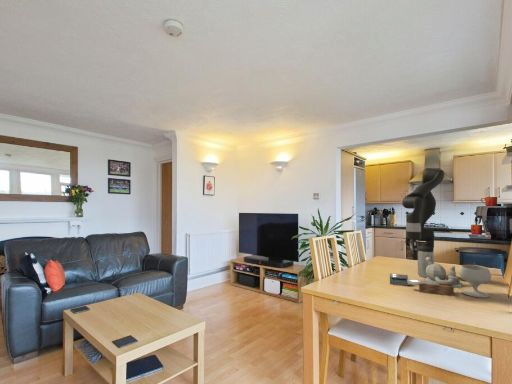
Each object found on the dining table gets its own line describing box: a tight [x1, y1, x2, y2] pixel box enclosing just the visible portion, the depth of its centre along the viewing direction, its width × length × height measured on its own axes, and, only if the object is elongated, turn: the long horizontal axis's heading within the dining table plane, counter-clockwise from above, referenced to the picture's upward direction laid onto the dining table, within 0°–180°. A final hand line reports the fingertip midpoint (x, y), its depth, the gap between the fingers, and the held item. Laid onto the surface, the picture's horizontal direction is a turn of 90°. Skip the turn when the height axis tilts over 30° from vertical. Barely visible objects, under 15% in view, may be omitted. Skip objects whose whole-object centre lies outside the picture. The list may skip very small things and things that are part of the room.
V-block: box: [389, 273, 409, 287], centre depth 174 cm, size 10×10×5 cm
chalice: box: [458, 264, 492, 298], centre depth 152 cm, size 14×14×15 cm
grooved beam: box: [418, 283, 455, 297], centre depth 156 cm, size 16×7×5 cm, turn 62°
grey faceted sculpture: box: [423, 257, 464, 289], centre depth 173 cm, size 20×15×15 cm
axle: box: [407, 278, 440, 286], centre depth 158 cm, size 16×3×3 cm, turn 62°
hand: (414, 258), depth 161 cm, fingers open, 8 cm apart
